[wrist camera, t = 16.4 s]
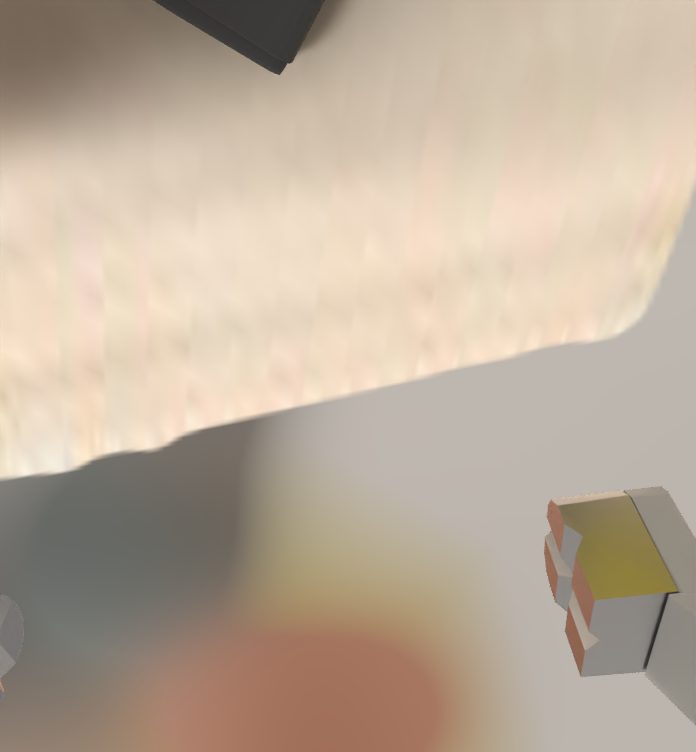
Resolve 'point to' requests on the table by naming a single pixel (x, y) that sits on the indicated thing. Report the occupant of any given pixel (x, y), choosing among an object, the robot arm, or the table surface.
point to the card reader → (252, 25)
